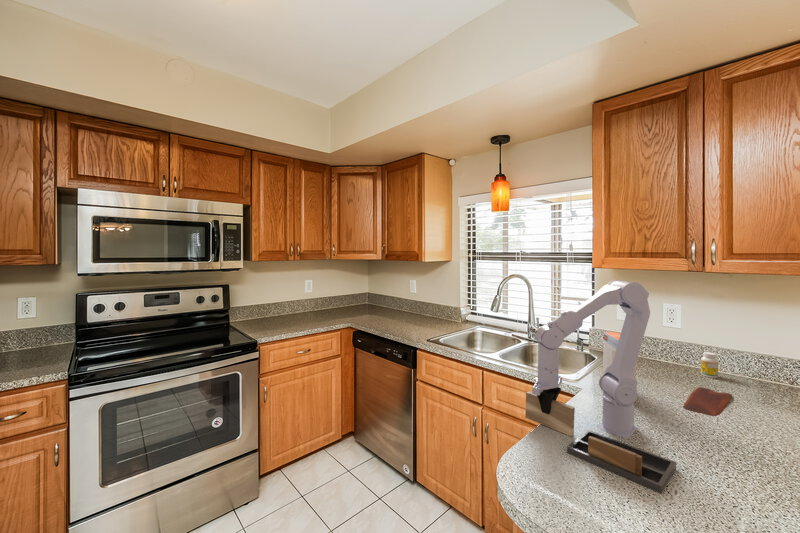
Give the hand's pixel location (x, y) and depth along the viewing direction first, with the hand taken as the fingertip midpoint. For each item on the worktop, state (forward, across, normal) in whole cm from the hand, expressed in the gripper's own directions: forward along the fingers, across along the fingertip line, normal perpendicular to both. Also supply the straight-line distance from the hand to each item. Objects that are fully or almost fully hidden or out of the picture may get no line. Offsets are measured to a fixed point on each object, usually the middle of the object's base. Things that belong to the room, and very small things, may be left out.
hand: (547, 411), depth 103 cm
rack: (+5, +3, +20) cm, 21 cm away
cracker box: (+5, -47, +4) cm, 47 cm away
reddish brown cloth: (+6, -59, +28) cm, 66 cm away
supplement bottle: (+5, -92, +24) cm, 95 cm away
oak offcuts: (+4, +6, +20) cm, 21 cm away
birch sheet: (+4, 0, 0) cm, 4 cm away
